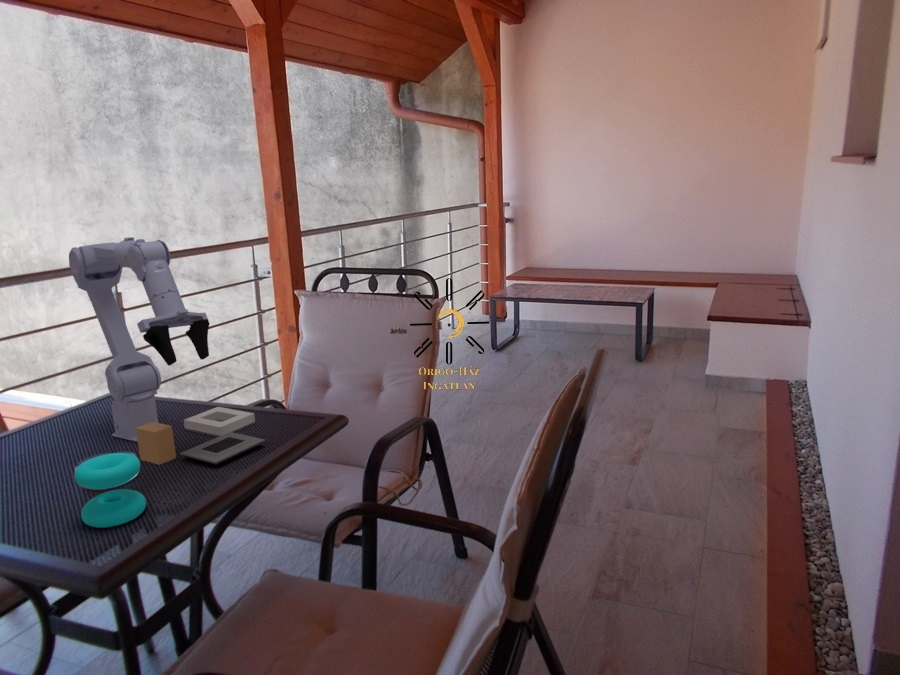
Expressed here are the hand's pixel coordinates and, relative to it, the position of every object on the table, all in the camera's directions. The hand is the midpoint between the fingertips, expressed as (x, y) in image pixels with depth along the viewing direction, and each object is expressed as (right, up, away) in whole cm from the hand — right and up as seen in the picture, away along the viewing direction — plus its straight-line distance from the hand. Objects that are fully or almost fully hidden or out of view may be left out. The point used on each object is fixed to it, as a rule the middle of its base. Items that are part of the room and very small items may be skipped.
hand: (189, 360), depth 135 cm
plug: (-9, -20, +7) cm, 23 cm away
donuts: (-6, -26, -17) cm, 32 cm away
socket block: (-2, -16, +24) cm, 29 cm away
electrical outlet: (+4, -20, +9) cm, 22 cm away
